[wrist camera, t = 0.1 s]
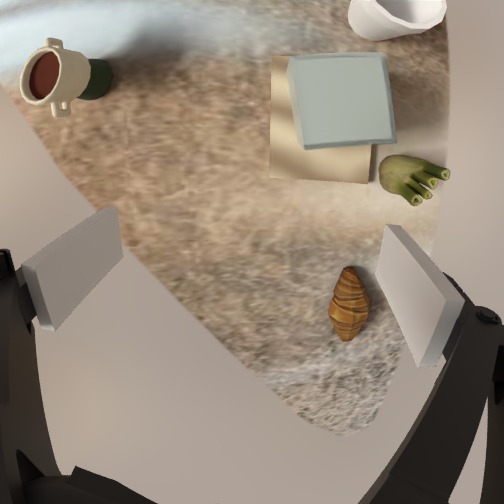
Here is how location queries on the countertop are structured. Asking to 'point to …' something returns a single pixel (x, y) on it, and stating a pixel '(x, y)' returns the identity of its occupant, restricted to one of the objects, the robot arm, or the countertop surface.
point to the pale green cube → (341, 99)
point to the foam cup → (394, 17)
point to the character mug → (62, 77)
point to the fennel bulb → (410, 177)
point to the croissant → (349, 305)
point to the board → (294, 156)
